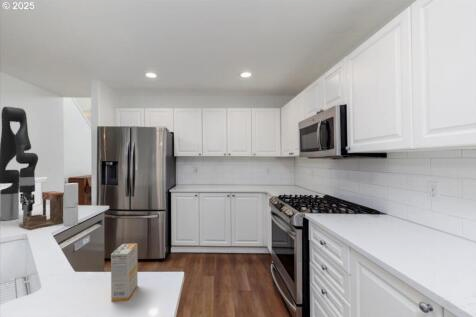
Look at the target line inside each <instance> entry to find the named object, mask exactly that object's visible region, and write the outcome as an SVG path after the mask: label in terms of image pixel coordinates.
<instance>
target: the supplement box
mask: <svg viewBox="0 0 476 317" xmlns="http://www.w3.org/2000/svg"><path fill="white" fill-rule="evenodd" d="M138 280H139V279H138V243H122V244H121V245H120V246H118V247H117V248H116V249H115V250H114V251H113V252H112V253H111V254H110V295H111V296H110V298H111V302H121V301H124V302H125V301H129V300H130V298H131V296H132V295H133V293H134V292H135V290H136V288H137V287H138V282H139V281H138Z"/></svg>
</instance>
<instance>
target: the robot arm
mask: <svg viewBox="0 0 476 317" xmlns="http://www.w3.org/2000/svg"><path fill="white" fill-rule="evenodd" d="M0 116H1V133H0V135H1V136H0V185H2V184H5V185H6V184H11V185H10V186H8V187H6V188H5V187H4V188H3V189H2V188H1V189H0V221H1V220H5V221H13V220H17V218H18V219H19V218H20V215H19V214H20V208H19V207H20V204H21V211H23V204H28V211H32V212H33V209H34V204H35V201H36V200H35V199H36V198H35V193H34V192H36V178H35V170H36V167H37V164H38V162H39V156H38V155H37V154H36V153H35V152H26V151H30V150H32V144H31V141H30V137H29V130H28V127H29V126H28V119H27V113H26V111H25V109H23V108H20V107H13V106H4V107H2V109H1V115H0ZM11 122H13V123H19V128H18V130H17V131H16V133H14V132H13V131H14V130H12V128H11ZM14 158H15V161H16V162H17V164H20V165H27V166H26V167H22V168H20V170H18V169H7V167H8V165H9V163H11V161H12V160H14ZM33 193H34V194H33Z"/></svg>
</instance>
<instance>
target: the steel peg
mask: <svg viewBox="0 0 476 317" xmlns="http://www.w3.org/2000/svg"><path fill="white" fill-rule="evenodd" d="M22 212H23V213H22V218H23V217H26V216H33V215H32V212H33V211H28V204H23V210H22Z"/></svg>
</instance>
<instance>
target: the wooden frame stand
mask: <svg viewBox="0 0 476 317" xmlns="http://www.w3.org/2000/svg"><path fill="white" fill-rule="evenodd" d="M41 194H42V195H41V198H42V214H34V215H32V216H26V217H23V216H22V223H20V224H18V228H21V229H25V230H28V231H33V230H38V229H42V228H47V227H52V226H57V225H64V191H53V190H51V191H42V193H41ZM47 200H48V201H49V218H48V219H47Z"/></svg>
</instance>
